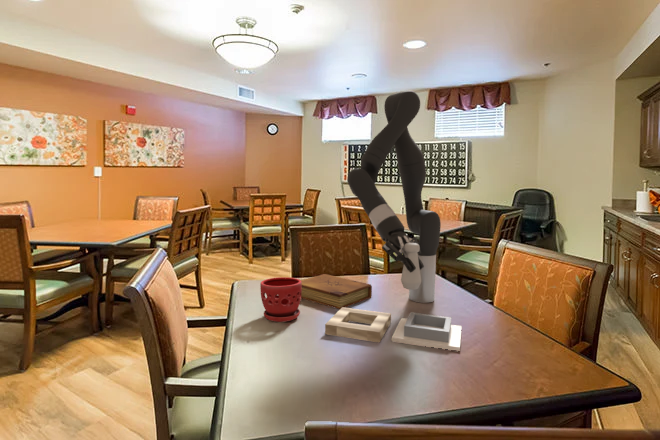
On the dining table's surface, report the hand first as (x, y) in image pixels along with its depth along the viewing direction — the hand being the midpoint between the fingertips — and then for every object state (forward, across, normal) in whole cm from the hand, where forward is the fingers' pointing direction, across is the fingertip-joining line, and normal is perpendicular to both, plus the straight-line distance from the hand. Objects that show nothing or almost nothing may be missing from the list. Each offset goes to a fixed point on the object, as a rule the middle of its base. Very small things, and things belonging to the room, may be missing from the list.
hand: (417, 269), depth 115 cm
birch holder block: (+4, -9, +23) cm, 25 cm away
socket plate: (+16, +3, +12) cm, 20 cm away
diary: (-16, +5, +45) cm, 48 cm away
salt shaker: (+3, 0, +6) cm, 6 cm away
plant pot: (-12, -23, +39) cm, 47 cm away
